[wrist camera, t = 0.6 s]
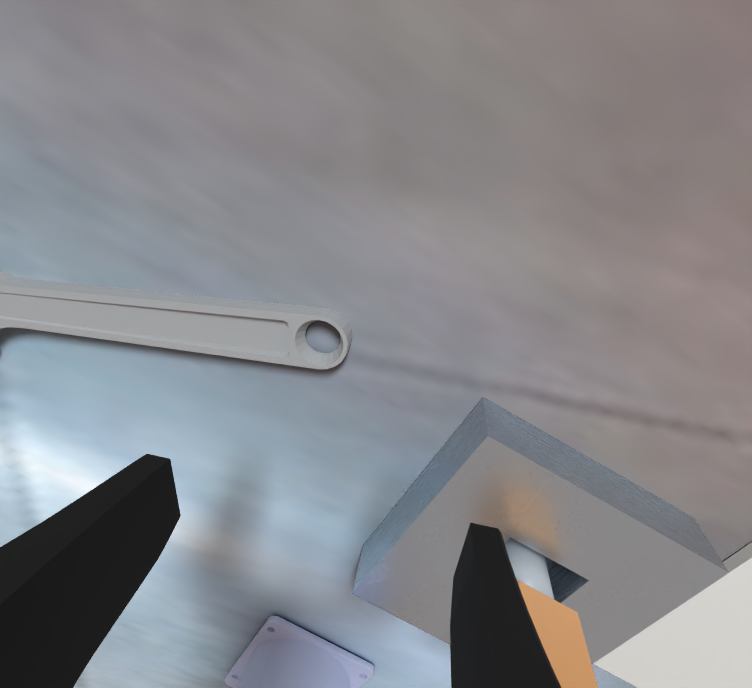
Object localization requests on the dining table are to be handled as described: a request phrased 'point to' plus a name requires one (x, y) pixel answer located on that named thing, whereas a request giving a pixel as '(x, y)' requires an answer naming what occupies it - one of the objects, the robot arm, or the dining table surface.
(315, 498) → the dining table surface
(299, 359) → the adjustable wrench
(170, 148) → the dining table surface
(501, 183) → the dining table surface
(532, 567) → the key
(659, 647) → the mat
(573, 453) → the socket block
